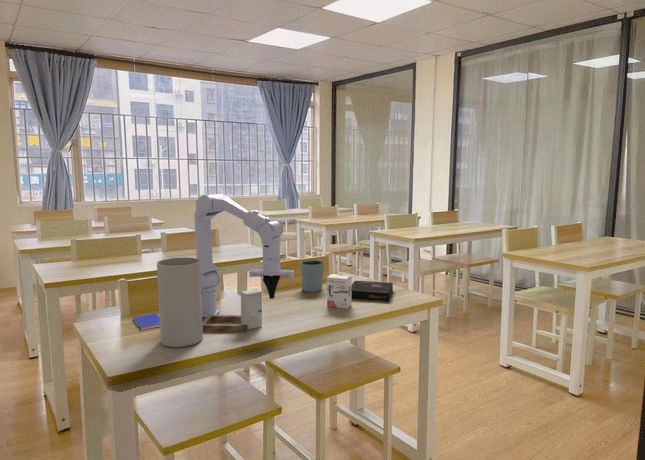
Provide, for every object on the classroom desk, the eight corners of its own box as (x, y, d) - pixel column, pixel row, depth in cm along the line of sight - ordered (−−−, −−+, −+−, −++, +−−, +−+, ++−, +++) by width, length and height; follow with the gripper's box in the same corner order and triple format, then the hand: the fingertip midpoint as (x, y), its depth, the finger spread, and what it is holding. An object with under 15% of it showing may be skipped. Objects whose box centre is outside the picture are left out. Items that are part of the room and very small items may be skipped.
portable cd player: (392, 291, 206) (392, 282, 205) (388, 302, 189) (389, 293, 189) (354, 289, 210) (354, 280, 209) (348, 300, 193) (348, 290, 192)
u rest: (200, 331, 156) (199, 325, 156) (209, 320, 167) (209, 314, 167) (246, 332, 156) (246, 326, 155) (253, 320, 166) (253, 315, 166)
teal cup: (298, 291, 203) (298, 264, 202) (303, 285, 213) (303, 259, 212) (322, 293, 202) (321, 265, 200) (325, 286, 212) (325, 260, 210)
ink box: (326, 306, 182) (326, 276, 181) (331, 303, 187) (331, 273, 185) (347, 309, 179) (347, 278, 178) (352, 305, 184) (352, 275, 182)
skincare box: (246, 330, 157) (245, 294, 156) (240, 326, 161) (239, 291, 159) (263, 326, 161) (262, 291, 159) (257, 322, 164) (256, 288, 163)
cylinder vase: (179, 331, 156) (175, 256, 153) (211, 336, 151) (208, 259, 148) (151, 344, 145) (147, 263, 141) (185, 351, 140) (181, 267, 136)
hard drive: (166, 322, 162) (156, 313, 172) (141, 327, 157) (132, 317, 167) (166, 327, 162) (156, 317, 172) (141, 331, 157) (132, 321, 168)
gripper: (247, 260, 154) (248, 301, 156) (291, 260, 153) (292, 301, 155) (251, 255, 161) (252, 295, 163) (294, 256, 160) (294, 295, 162)
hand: (272, 297), depth 159 cm, fingers closed
